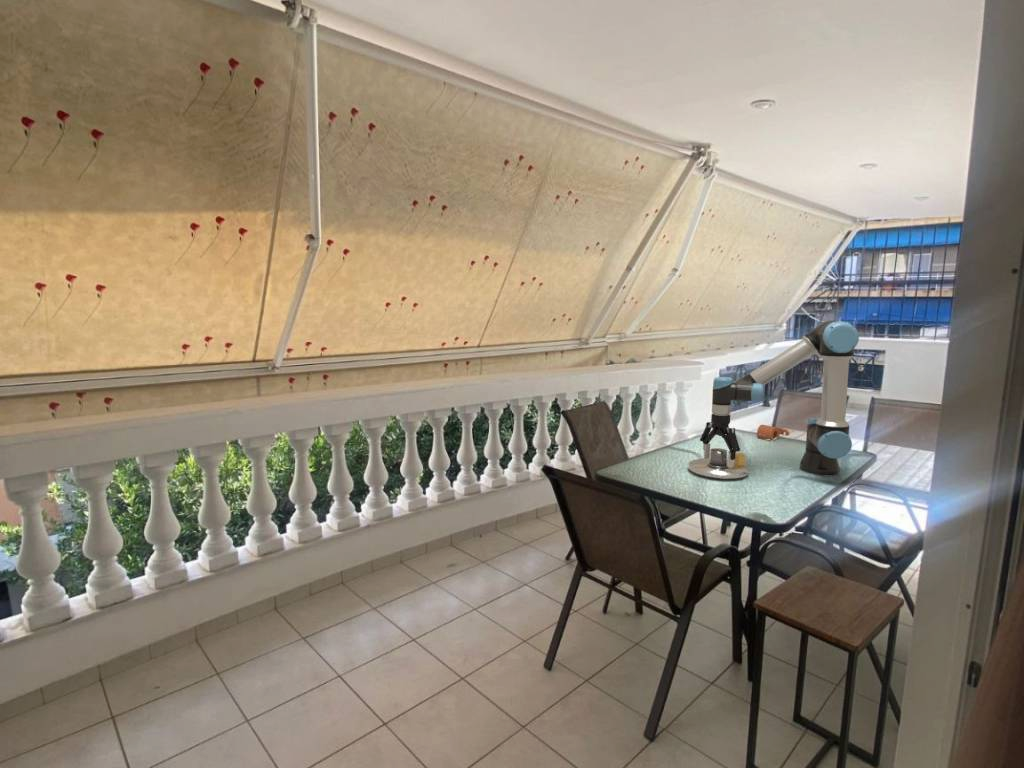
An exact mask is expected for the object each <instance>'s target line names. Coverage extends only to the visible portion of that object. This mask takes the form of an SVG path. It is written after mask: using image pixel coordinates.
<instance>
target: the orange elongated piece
mask: <svg viewBox="0 0 1024 768" xmlns="http://www.w3.org/2000/svg"><path fill="white" fill-rule="evenodd" d="M759 434H762V435H759ZM763 435H765V436H763ZM780 435H782V436H783V435H784V436H790V432H789V430H788V429H784V428H779V427H776V426H772V425H766V424H760V425H759V426H758V427H757V430H756V437H757V438H758V439H760V438H763V439H762V440H765V439H770V440H773V439H774V438H775V437H779V438H780Z"/></svg>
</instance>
